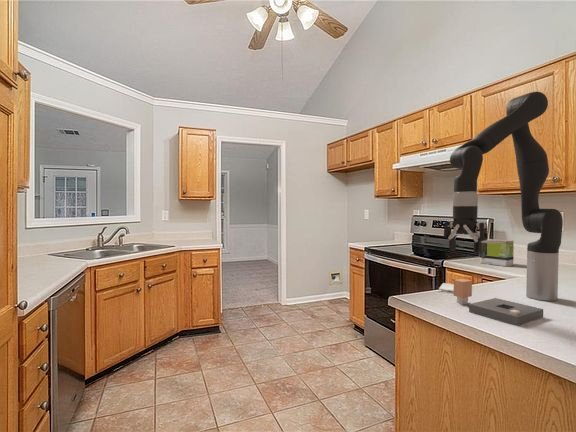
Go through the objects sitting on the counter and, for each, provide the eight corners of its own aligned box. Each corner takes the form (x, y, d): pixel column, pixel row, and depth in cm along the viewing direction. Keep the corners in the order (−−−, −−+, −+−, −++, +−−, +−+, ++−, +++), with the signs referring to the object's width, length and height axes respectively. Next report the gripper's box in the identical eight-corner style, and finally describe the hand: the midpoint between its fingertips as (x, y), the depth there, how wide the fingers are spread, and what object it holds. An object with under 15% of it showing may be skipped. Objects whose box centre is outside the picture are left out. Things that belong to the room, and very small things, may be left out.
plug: (462, 300, 116) (462, 278, 116) (471, 303, 113) (472, 280, 113) (453, 302, 114) (453, 280, 114) (462, 305, 111) (463, 282, 111)
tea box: (513, 265, 192) (514, 240, 191) (506, 266, 186) (506, 241, 186) (486, 261, 204) (487, 238, 204) (478, 263, 198) (479, 239, 198)
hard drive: (442, 282, 140) (438, 288, 130) (464, 285, 136) (461, 291, 126) (442, 286, 140) (438, 292, 130) (464, 289, 136) (461, 295, 126)
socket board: (495, 305, 111) (495, 295, 111) (543, 317, 99) (543, 306, 99) (469, 311, 104) (469, 301, 104) (517, 325, 92) (517, 314, 92)
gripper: (492, 205, 108) (491, 253, 108) (452, 205, 120) (451, 248, 121) (479, 204, 104) (478, 255, 105) (439, 205, 117) (439, 250, 117)
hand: (464, 251), depth 113 cm, fingers open, 8 cm apart
